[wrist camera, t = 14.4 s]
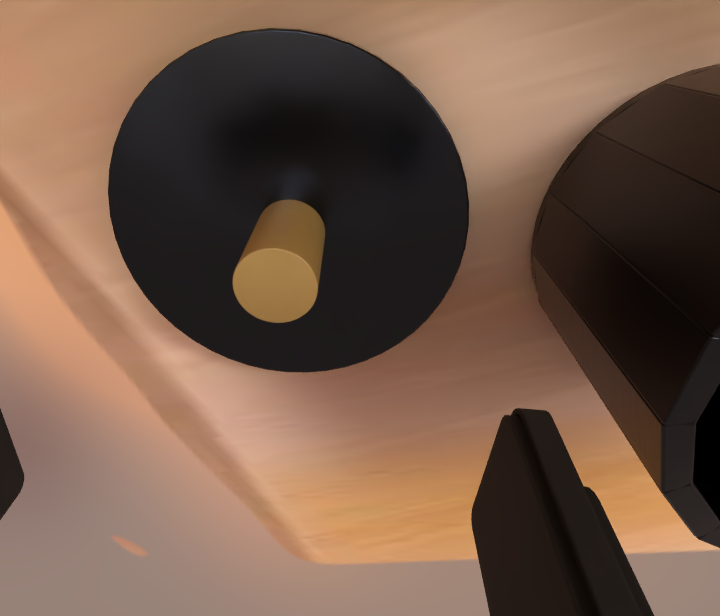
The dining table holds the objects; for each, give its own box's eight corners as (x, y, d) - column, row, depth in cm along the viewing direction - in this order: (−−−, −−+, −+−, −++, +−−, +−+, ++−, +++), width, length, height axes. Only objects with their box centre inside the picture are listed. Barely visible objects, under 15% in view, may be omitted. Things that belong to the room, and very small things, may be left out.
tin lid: (92, 5, 16) (-22, 0, 11) (499, 50, 17) (558, 65, 12) (143, 346, 23) (86, 435, 18) (431, 367, 24) (451, 458, 19)
